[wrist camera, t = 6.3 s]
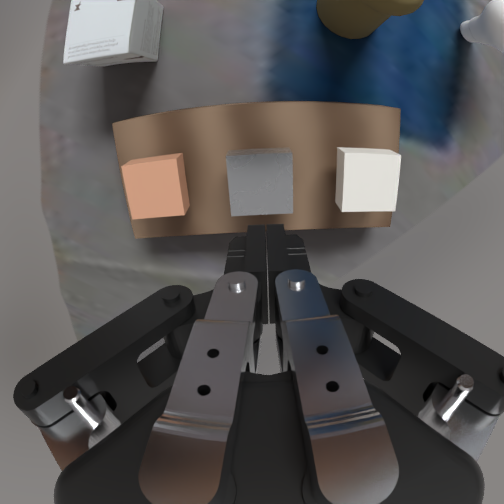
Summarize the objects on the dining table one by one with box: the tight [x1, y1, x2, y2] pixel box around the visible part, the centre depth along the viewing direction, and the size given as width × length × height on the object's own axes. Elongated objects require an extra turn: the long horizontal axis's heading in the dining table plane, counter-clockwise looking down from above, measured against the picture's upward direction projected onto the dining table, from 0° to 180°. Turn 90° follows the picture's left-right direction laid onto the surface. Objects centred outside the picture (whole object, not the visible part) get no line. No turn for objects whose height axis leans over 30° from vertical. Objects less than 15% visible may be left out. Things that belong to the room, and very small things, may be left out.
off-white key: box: [335, 147, 401, 212], centre depth 21 cm, size 4×4×2 cm
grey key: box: [226, 147, 293, 216], centre depth 21 cm, size 4×4×2 cm
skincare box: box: [63, 0, 164, 67], centre depth 17 cm, size 6×6×7 cm
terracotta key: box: [121, 153, 190, 220], centre depth 22 cm, size 4×4×2 cm
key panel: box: [112, 101, 400, 239], centre depth 25 cm, size 24×11×4 cm, turn 93°
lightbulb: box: [460, 0, 504, 53], centre depth 13 cm, size 6×6×11 cm
